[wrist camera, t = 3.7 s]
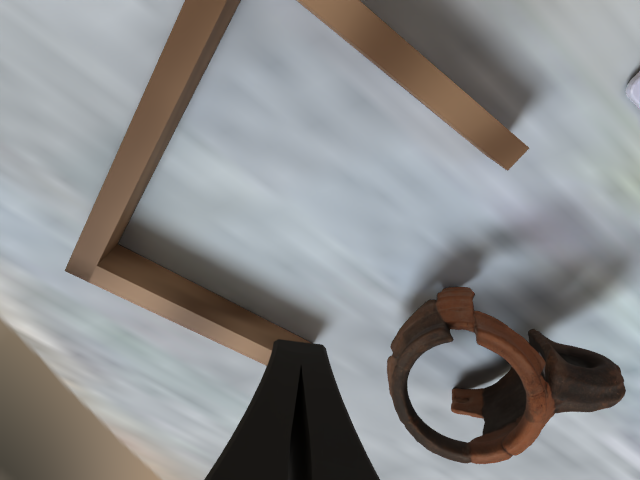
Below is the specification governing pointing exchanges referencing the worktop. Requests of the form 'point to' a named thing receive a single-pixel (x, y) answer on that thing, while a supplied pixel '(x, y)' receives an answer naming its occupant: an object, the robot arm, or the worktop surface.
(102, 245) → the corral
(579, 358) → the pottery mug
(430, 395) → the worktop surface
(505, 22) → the worktop surface
